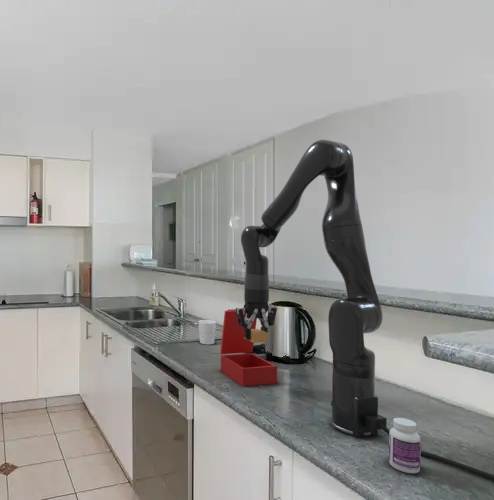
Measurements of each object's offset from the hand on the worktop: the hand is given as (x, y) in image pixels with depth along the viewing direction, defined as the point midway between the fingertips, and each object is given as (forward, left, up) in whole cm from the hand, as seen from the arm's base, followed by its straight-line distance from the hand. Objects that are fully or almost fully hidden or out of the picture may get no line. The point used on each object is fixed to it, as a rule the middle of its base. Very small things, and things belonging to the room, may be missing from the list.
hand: (255, 338), depth 128 cm
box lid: (+15, -2, -1) cm, 15 cm away
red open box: (+9, -2, -16) cm, 18 cm away
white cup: (+55, -8, -16) cm, 58 cm away
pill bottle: (-48, -5, -16) cm, 51 cm away
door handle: (+29, -20, -16) cm, 39 cm away
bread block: (0, 0, 0) cm, 0 cm away
